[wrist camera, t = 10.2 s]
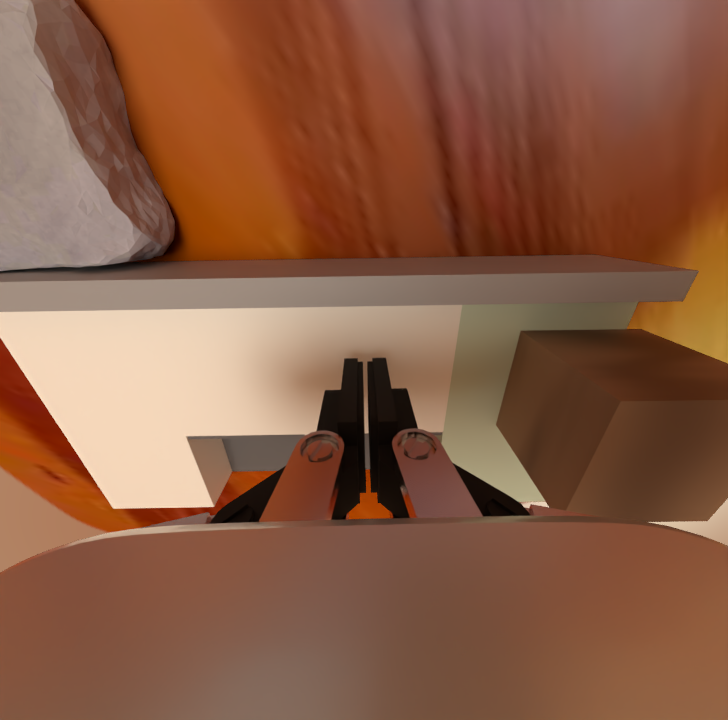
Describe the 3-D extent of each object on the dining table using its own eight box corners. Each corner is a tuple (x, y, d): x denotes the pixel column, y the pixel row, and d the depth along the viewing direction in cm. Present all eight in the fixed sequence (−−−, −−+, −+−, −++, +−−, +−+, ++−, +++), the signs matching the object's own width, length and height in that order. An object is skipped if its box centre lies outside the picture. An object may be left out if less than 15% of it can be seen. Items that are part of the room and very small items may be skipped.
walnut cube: (640, 328, 12) (815, 398, 7) (596, 423, 14) (707, 521, 9) (520, 330, 12) (621, 401, 7) (495, 424, 14) (559, 523, 9)
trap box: (595, 254, 13) (698, 270, 9) (523, 462, 19) (566, 526, 15) (41, 263, 13) (-101, 283, 9) (147, 467, 19) (91, 534, 15)
